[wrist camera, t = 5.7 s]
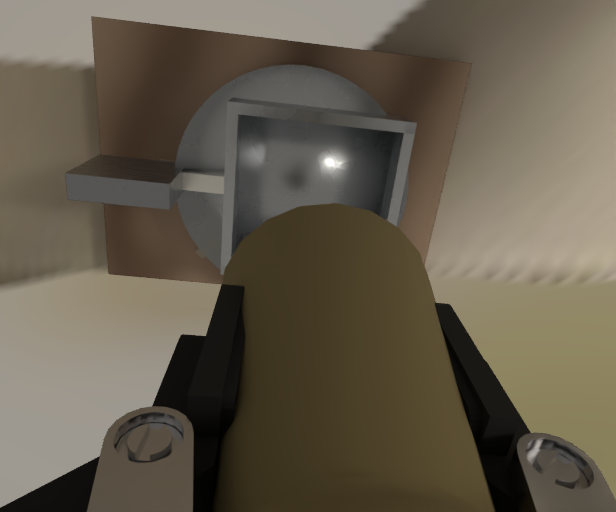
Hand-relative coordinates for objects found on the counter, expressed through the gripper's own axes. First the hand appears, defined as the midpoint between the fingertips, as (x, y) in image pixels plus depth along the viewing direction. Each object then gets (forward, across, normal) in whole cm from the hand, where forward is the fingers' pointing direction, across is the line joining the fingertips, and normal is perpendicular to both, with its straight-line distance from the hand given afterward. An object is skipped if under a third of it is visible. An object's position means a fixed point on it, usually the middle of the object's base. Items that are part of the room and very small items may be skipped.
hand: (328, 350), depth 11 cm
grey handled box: (+16, +3, 0) cm, 16 cm away
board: (+17, +2, 0) cm, 18 cm away
